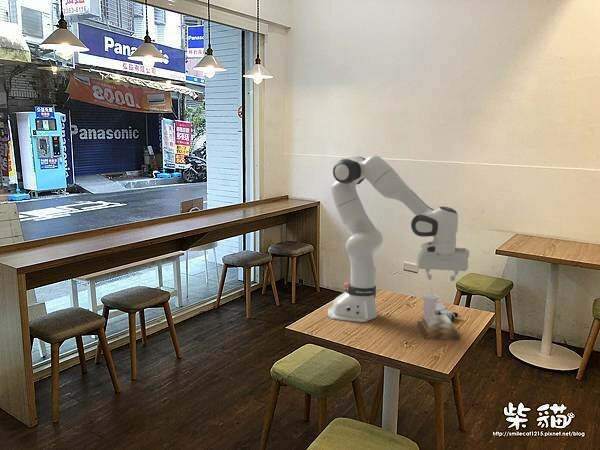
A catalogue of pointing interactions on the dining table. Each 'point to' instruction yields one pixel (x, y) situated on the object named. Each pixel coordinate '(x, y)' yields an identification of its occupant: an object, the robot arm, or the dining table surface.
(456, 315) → the robot toy
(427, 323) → the square stepped pedestal
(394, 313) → the dining table surface
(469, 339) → the dining table surface
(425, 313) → the smoothie
